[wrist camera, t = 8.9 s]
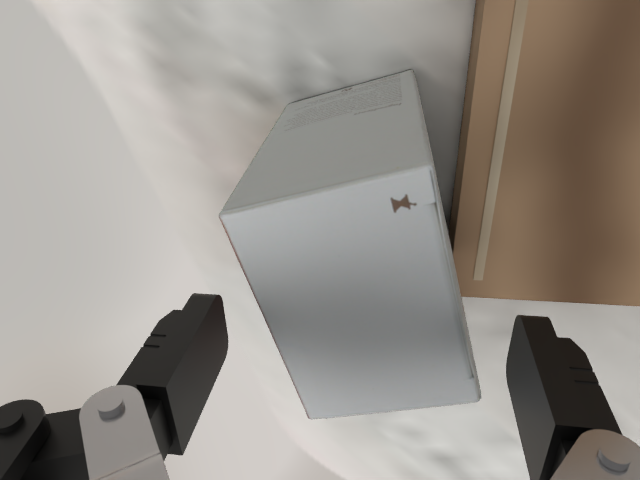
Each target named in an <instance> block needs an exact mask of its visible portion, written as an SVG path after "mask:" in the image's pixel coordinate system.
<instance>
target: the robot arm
mask: <svg viewBox="0 0 640 480" xmlns="http://www.w3.org/2000/svg"><path fill="white" fill-rule="evenodd" d="M227 350H228V334H227V327H226V320H225V314H224V307H223V301H222V298H221V296H220V295H212V294H196V293H194V294H192V296H191V297H190V298H189V300H188V302H187V303H186V305H185V306H184V308H183V310H173V311H172V312H170V313H169V314H168V315H166V316H165V317H164V318H162V319H161V320H160V321H159V322H158V323H157V325H156V327H155V328H154V329H153V331H152V332H151V336H149V337H148V338H147V340H146V341H145V343H144V346H143V347H142V348H141V349H140V351H139V352H138V354H137V355H136V356H135V358H134V359H133V361H132V362H131V364H130V366H129V367H128V368H127V370H126V371H125V373H124V375H123V376H122V377H121V379H120V380H119V382H118V384H117V385H116V386H111V387H108V388H105V389H103V390H101V391H99V392H97V393H95V394H94V395H92V396H91V397H90V398H89V399H88V400H87V401H86V402H85V403H84V405H83V407H82V408H80V409H75V410H69V411H63V412H57V413H51V414H45V411H44V409H43V407H42V406H41V404H40V403H38V402H37V401H34V400H18V401H14V402H11V403H8V404H5V405H3V406H1V407H0V480H169V476H168V473H167V470H166V467H165V464H164V460H165V458H166V456H167V454H175V455H183V453H184V451H185V449H186V447H187V444H188V442H189V440H190V437H191V435H192V433H193V431H194V429H195V426H196V424H197V422H198V419H199V417H200V415H201V413H202V410H203V408H204V406H205V404H206V401H207V399H208V397H209V394H210V392H211V390H212V388H213V386H214V383H215V381H216V379H217V376H218V374H219V372H220V370H221V367H222V365H223V363H224V361H225V358H226V355H227ZM506 377H507V384H508V388H509V392H510V397H511V401H512V405H513V409H514V413H515V417H516V422H517V426H518V430H519V434H520V438H521V443H522V447H523V451H524V455H525V459H526V463H527V468H528V472H529V476H530V480H640V447H639V446H638V445H637V444H636V443H635V442H633V441H632V440H630V439H629V438H627V437H625V436H623V435H622V433H621V431H620V428H619V426H618V424H617V422H616V420H615V417H614V415H613V413H612V411H611V409H610V406H609V404H608V402H607V400H606V398H605V395H604V393H603V391H602V389H601V387H600V386H599V385H598V380H597V378H596V376H595V373H594V372H593V371H592V367H591V365H590V362H589V360H588V358H587V356H586V353H585V352H584V351H583V350H582V349H581V348H580V347H579V346H578V345H577V344H576V343H575V342H573V341H572V340H571V339H570V338H559V337H557V336H556V333H555V330H554V328H553V325H552V323H551V321H550V319H549V318H548V317H540V316H524V315H518V316H517V317H516V319H515V323H514V327H513V332H512V337H511V342H510V347H509V352H508V357H507V363H506Z"/></svg>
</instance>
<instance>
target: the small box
mask: <svg viewBox="0 0 640 480" xmlns="http://www.w3.org/2000/svg"><path fill="white" fill-rule="evenodd" d="M219 218H220V220H221V222H222V225H223V227H224V229H225V231H226V233H227V236H228V238H229V240H230V243H231V245H232V247H233V249H234V252H235V254H236V256H237V259H238V261H239V263H240V265H241V267H242V270H243V272H244V274H245V276H246V278H247V281H248V283H249V285H250V287H251V290H252V292H253V294H254V296H255V299H256V301H257V303H258V305H259V307H260V309H261V312H262V314H263V316H264V318H265V321H266V323H267V325H268V328H269V330H270V332H271V334H272V337H273V339H274V341H275V343H276V346H277V348H278V350H279V352H280V355H281V357H282V359H283V361H284V363H285V366H286V368H287V370H288V372H289V375H290V377H291V379H292V381H293V384H294V386H295V388H296V391H297V393H298V395H299V398H300V400H301V402H302V404H303V406H304V409H305V411H306V414H307V416H308V418H309V419H322V418H335V417H345V416H354V415H363V414H373V413H383V412H392V411H401V410H411V409H420V408H429V407H439V406H448V405H457V404H466V403H474V402H478V401H479V400H480V399H481V390H480V385H479V380H478V376H477V371H476V366H475V361H474V356H473V351H472V346H471V342H470V337H469V332H468V327H467V322H466V317H465V313H464V308H463V303H462V298H461V293H460V289H459V284H458V279H457V274H456V269H455V264H454V259H453V254H452V249H451V244H450V239H449V234H448V229H447V224H446V220H445V215H444V211H443V206H442V201H441V196H440V191H439V186H438V181H437V176H436V171H435V166H434V161H433V156H432V151H431V147H430V142H429V137H428V132H427V128H426V123H425V118H424V113H423V109H422V104H421V99H420V95H419V90H418V86H417V82H416V78H415V74H414V71H413V70H408V71H405V72H402V73H398V74H395V75H391V76H387V77H384V78H380V79H376V80H373V81H369V82H366V83H362V84H358V85H355V86H351V87H347V88H344V89H340V90H336V91H333V92H329V93H326V94H322V95H319V96H315V97H312V98H308V99H305V100H301V101H298V102H294V103H290V104H288V105H287V106H286V108H285V110H284V111H283V113H282V114H281V116H280V117H279V119H278V121H277V122H276V124H275V125H274V127H273V128H272V130H271V132H270V133H269V135H268V137H267V138H266V140H265V141H264V143H263V145H262V146H261V148H260V149H259V151H258V153H257V154H256V156H255V157H254V159H253V161H252V162H251V164H250V165H249V167H248V169H247V170H246V172H245V173H244V175H243V177H242V178H241V180H240V181H239V183H238V185H237V186H236V188H235V190H234V191H233V193H232V194H231V196H230V198H229V199H228V201H227V202H226V204H225V206H224V207H223V209H222V211H221V212H220V214H219Z"/></svg>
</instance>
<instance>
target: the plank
mask: <svg viewBox="0 0 640 480" xmlns="http://www.w3.org/2000/svg"><path fill="white" fill-rule="evenodd" d="M449 239H450V244H451V249H452V254H453V259H454V264H455V269H456V274H457V279H458V284H459V289H460V293H461V297H480V298H498V299H516V300H535V301H553V302H571V303H589V304H608V305H626V306H640V0H476V5H475V14H474V22H473V31H472V39H471V48H470V56H469V65H468V73H467V82H466V90H465V98H464V107H463V115H462V124H461V132H460V141H459V149H458V158H457V166H456V175H455V183H454V192H453V200H452V209H451V217H450V226H449Z"/></svg>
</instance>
